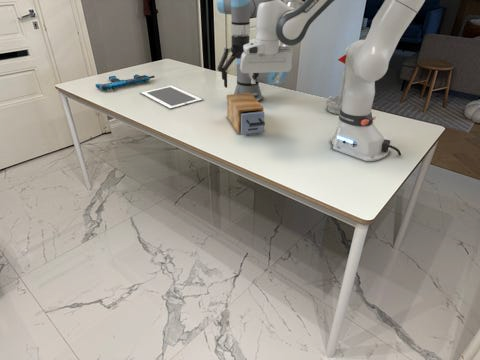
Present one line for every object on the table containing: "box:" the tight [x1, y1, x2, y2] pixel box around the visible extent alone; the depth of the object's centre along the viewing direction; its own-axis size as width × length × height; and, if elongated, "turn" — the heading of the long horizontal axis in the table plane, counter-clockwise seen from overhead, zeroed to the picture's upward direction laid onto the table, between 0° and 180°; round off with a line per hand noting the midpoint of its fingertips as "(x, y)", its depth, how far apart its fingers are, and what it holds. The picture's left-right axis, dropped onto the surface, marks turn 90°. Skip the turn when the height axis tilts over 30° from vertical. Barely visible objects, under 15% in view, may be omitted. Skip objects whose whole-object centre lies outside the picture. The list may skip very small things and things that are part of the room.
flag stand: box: [325, 46, 350, 115], centre depth 162 cm, size 13×13×30 cm
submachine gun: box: [94, 74, 155, 92], centre depth 207 cm, size 34×4×25 cm
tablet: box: [140, 85, 204, 110], centre depth 187 cm, size 32×20×1 cm, turn 41°
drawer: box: [240, 110, 266, 136], centre depth 148 cm, size 24×10×9 cm, turn 16°
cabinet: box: [226, 93, 264, 135], centre depth 153 cm, size 20×11×11 cm, turn 16°
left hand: (240, 85), depth 152 cm, fingers open, 13 cm apart
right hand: (264, 83), depth 135 cm, fingers open, 8 cm apart
